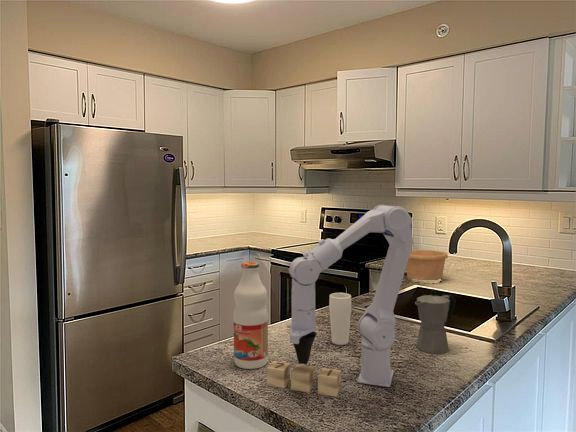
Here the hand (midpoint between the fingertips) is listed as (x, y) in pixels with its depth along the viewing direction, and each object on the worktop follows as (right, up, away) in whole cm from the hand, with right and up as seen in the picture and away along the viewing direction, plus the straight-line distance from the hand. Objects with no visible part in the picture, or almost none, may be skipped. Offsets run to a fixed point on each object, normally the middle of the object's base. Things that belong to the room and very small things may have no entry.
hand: (303, 362), depth 105 cm
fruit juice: (-14, -5, +15) cm, 21 cm away
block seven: (-6, -6, +3) cm, 9 cm away
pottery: (+66, +2, +117) cm, 134 cm away
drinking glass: (+12, -4, +30) cm, 33 cm away
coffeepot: (+41, -4, +25) cm, 48 cm away
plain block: (0, -6, 0) cm, 6 cm away
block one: (+6, -6, -2) cm, 9 cm away
